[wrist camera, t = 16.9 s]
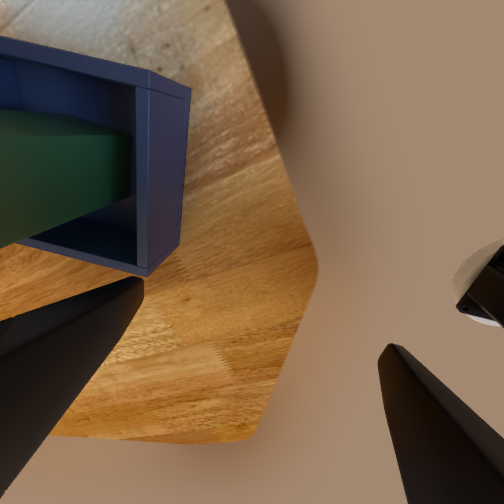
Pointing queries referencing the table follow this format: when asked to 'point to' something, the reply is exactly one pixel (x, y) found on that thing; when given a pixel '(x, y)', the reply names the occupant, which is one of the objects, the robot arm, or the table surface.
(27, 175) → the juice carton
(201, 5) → the table surface
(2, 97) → the dark blue open container
